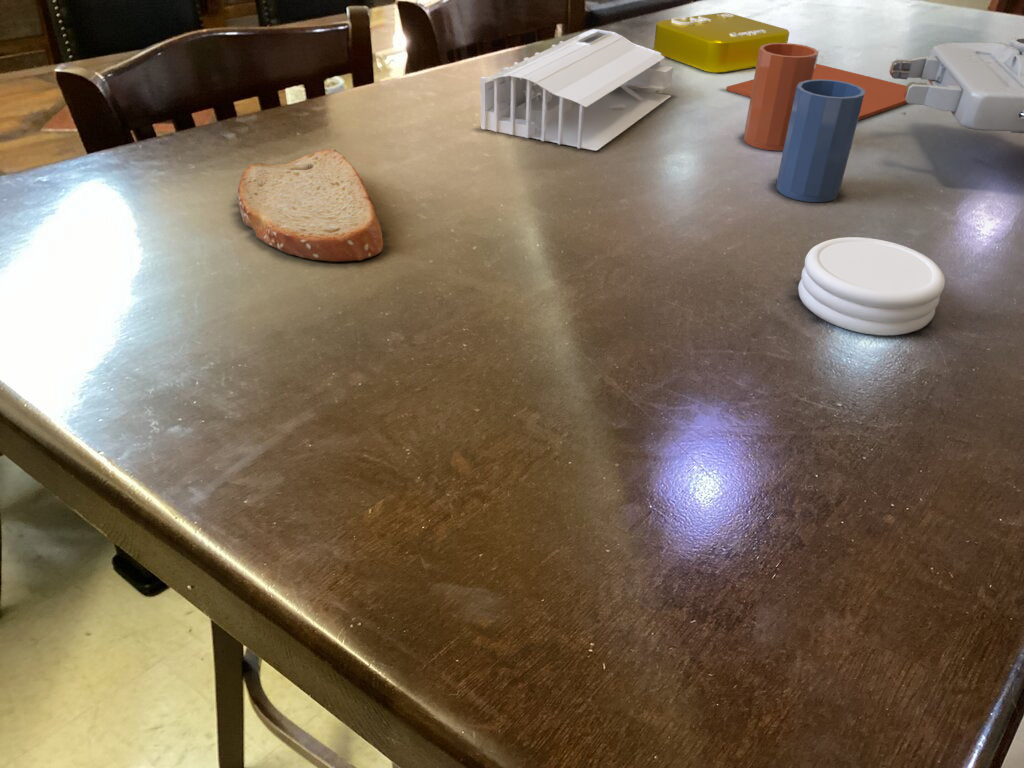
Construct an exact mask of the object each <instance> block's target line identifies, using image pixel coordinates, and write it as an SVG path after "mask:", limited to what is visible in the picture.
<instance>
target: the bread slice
mask: <svg viewBox="0 0 1024 768" xmlns="http://www.w3.org/2000/svg"><path fill="white" fill-rule="evenodd" d="M237 202H238V208H239V211H240V216H241V218H242V221H243V224H244V225H245V226H247V227H248V228H250V229H252V230H253V231H254V234H255V236H256V238H258V239H259V240H260V241H262V242H263V243H265V244H266V245H268V246H270V247H272V248H275V249H277V250H279V251H281V252H284V253H285V254H288V255H292V256H297V257H299V258H304V259H309V260H313V261H325V262H351V261H352V262H353V261H363V260H364V259H365V260H366V259H369V258H372V257H374V256H377V255H379V254H380V253H381V252H382V251H383V249H384V240H383V233H382V232H383V231H382V226H381V222H380V220H379V217H378V214H377V211H376V208H375V206H374V204H373V202H372V199H371V197H370V195H369V194H368V190H367V188H366V186H365V184H364V181H363V179H362V178H361V176H360V175H359V172H358V171H357V169H356V168H355V167H354V165H353V164H352V163H350V162H349V160H347V158H346V157H345V155H343V154H342V153H340V152H338V151H337V150H336V149H335V148H331V149H329V148H326V149H323V150H318V151H315V152H313V153H310V154H306V155H302V156H300V157H298V158H296V159H293V160H291V161H288V162H286V163H278V164H277V163H275V164H267V163H261V162H260V163H259V162H256V163H254V162H253V163H251V164H250V163H249V165H247V167H246V168H245V169H244V170H243V172H242V175H241V178H240V180H239V183H238V187H237Z"/></svg>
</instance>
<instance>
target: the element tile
mask: <svg viewBox="0 0 1024 768" xmlns="http://www.w3.org/2000/svg"><path fill="white" fill-rule="evenodd" d="M789 37H790V31H789V30H788V29H787V28H784V27H780V26H776V25H773V24H770V23H766V22H762V21H759V20H755V19H751V18H749V17H745V16H741V15H737V14H734V13H730V12H717V13H708V14H700V15H695V16H694V15H693V16H686V17H685V16H676V17H672V18H669V19H663V20H658V22H656V24H655V33H654V42H653V43H654V44H653V50H654V51H657V52H660V53H661V55H662V56H664V57H665V58H667V59H671V60H673V61H676V62H679V63H682V64H684V65H686V66H689V67H693V68H696V69H698V70H701V71H704V72H707V73H713V74H714V73H715V74H721V73H729V72H736V71H741V70H746V69H753V68H756V65H757V59H758V54H759V48H760V47H761V46H762V45H765V44H770V43H789Z"/></svg>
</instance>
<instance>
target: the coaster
mask: <svg viewBox="0 0 1024 768" xmlns="http://www.w3.org/2000/svg"><path fill="white" fill-rule="evenodd" d="M800 276H801V277H800V278H801V279H800V280H799V283H798V286H797V289H798V290H797V291H798V296H799V298H800V300H801V302H802V304H803V305H804V306H805V307H806V308H807V309H808V310H809V311H810V312H811V313H813V314H814V315H815V316H817V317H818V318H820V319H821V320H823V321H825V322H827V323H829V324H832V325H833V326H836V327H839V328H842V329H843V330H844V329H845V330H848V331H851V332H856V333H860V334H865V335H866V334H867V335H872V336H873V335H874V336H899V335H905V334H909V333H912V332H917V331H919V330H921V329H923V328H924V327H926V326H927V325H928V324H929V323H930V322H931V321H932V320H933V318H934V316H935V314H936V308H937V306H938V305H939V303H940V299H941V294H942V293H943V291H944V289H945V286H946V285H945V284H946V278H945V275H944V273H943V271H942V270H941V268H940V267H939V266H938V264H936V262H934V261H933V260H932V259H931V258H929V257H928V256H926V255H925V254H923V253H921V252H919V251H917V250H915V249H912V248H911V247H908V246H905V245H902V244H899V243H895V242H891V241H888V240H883V239H877V238H871V237H862V236H861V237H857V236H849V237H837V238H836V237H835V238H832V239H828V240H825V241H822V242H820V243H818V244H816V245H814V246H813V247H812V248H810V250H809V251H808V252H807V254H806V256H805V258H804V267H803V268H802V270H801V275H800Z"/></svg>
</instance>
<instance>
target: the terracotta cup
mask: <svg viewBox="0 0 1024 768" xmlns="http://www.w3.org/2000/svg"><path fill="white" fill-rule="evenodd" d="M819 53H820V52H819V51H818V50H817V49H816V48H814V47H812V46H808V45H804V44H800V43H799V44H798V43H790V42H788V43H770V44H765V45H762V46H761V47H760V48H759V54H758V59H757V65H756V67H755V72H754V76H753V79H754V81H753V87H752V92H751V97H749V104H748V109H747V114H746V120H745V127H744V130H743V131H744V132H743V141H744V143H746V144H747V145H749V146H751V147H753V148H756V149H760V150H765V151H772V152H773V151H774V152H776V151H777V152H779V151H780V152H783V149H784V145H785V140H786V135H787V130H788V126H789V121H790V116H791V112H792V107H793V102H794V97H795V93H796V88H797V85H798V84H799V83H800V82H803V81H806V80H813V75H814V71H815V66H816V64H817V62H818V57H819Z"/></svg>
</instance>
